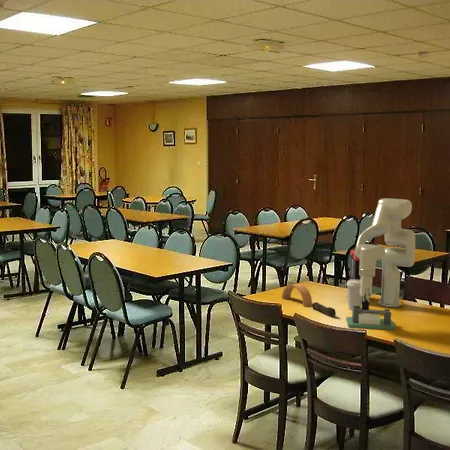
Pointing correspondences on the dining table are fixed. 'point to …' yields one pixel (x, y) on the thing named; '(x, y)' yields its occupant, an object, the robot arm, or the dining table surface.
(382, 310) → the steel strap
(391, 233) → the robot arm
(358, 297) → the coffee cup
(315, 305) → the hand tool
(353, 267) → the graphics card box
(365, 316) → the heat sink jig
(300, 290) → the arch
